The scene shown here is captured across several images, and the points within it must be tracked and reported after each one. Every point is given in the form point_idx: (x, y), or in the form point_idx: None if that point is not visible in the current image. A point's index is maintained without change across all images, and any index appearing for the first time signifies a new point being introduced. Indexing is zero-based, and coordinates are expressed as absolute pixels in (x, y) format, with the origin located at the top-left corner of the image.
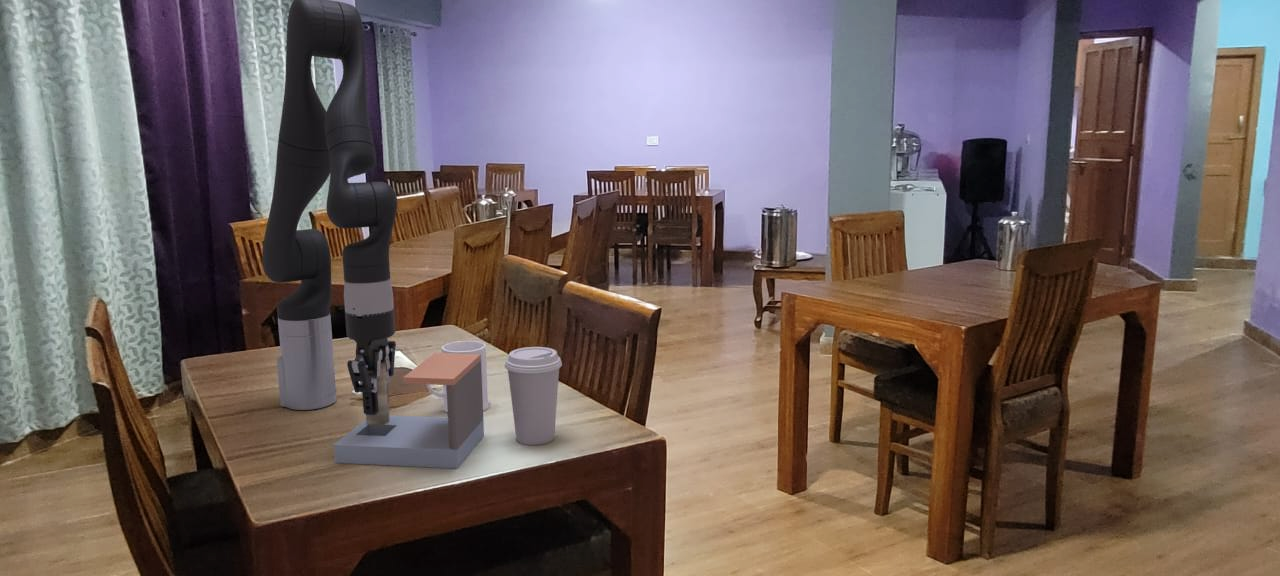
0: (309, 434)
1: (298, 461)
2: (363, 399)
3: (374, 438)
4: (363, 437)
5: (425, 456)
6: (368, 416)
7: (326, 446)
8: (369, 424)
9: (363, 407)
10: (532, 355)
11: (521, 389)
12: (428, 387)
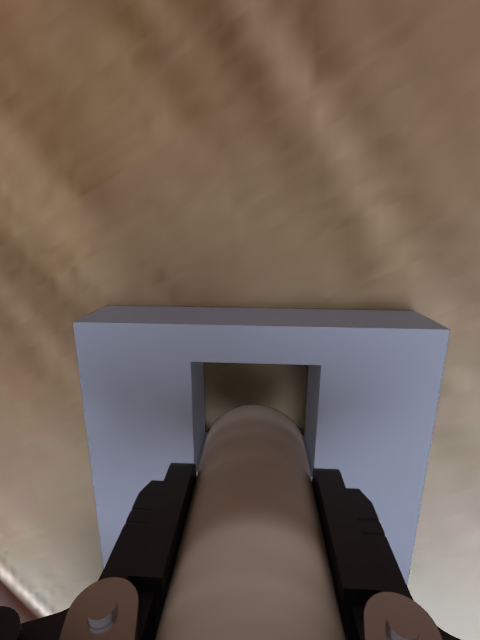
0: (376, 44)
1: (92, 164)
2: (114, 549)
3: (164, 445)
4: (169, 402)
5: None
6: (203, 454)
7: (245, 200)
8: (208, 433)
9: (162, 484)
10: None
11: None
12: None
